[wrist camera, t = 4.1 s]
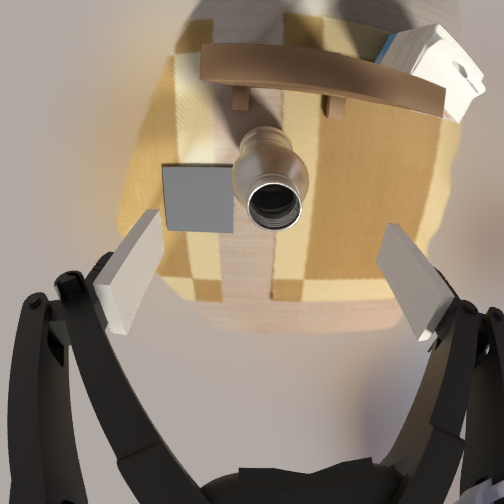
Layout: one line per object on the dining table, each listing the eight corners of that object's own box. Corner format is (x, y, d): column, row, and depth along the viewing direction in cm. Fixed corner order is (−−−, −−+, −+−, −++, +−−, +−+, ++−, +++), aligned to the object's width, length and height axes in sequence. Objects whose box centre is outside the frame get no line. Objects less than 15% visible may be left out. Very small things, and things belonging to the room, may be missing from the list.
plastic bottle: (273, 179, 37) (288, 264, 20) (231, 154, 35) (206, 221, 18) (300, 141, 34) (344, 196, 17) (256, 113, 32) (256, 138, 15)
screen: (235, 51, 28) (204, -4, 9) (345, 63, 28) (448, 46, 9) (232, 109, 32) (198, 133, 13) (339, 119, 32) (434, 163, 14)
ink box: (364, 75, 28) (416, 73, 17) (390, 33, 24) (445, 18, 13) (410, 111, 30) (469, 129, 19) (433, 71, 26) (495, 76, 15)
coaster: (163, 166, 36) (162, 167, 36) (234, 167, 36) (234, 168, 36) (168, 228, 42) (167, 230, 41) (232, 231, 42) (232, 233, 41)
